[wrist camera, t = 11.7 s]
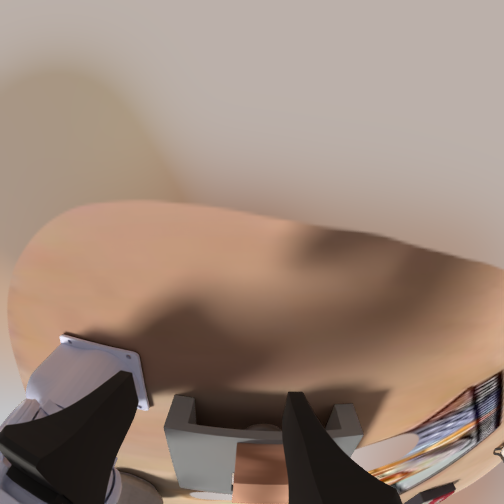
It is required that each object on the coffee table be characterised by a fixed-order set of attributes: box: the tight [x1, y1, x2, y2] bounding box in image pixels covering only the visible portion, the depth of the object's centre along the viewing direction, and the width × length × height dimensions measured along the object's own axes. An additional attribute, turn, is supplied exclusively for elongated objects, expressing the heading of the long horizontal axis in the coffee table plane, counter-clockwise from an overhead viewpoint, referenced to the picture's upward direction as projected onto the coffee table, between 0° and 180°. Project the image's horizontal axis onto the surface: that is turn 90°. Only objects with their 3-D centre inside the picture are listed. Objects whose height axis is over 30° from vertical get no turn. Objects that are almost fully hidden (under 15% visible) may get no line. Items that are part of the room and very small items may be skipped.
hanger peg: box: [232, 424, 289, 504], centre depth 20 cm, size 5×5×8 cm
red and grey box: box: [404, 483, 456, 504], centre depth 35 cm, size 11×4×15 cm
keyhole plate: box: [164, 395, 364, 494], centre depth 24 cm, size 18×14×4 cm
